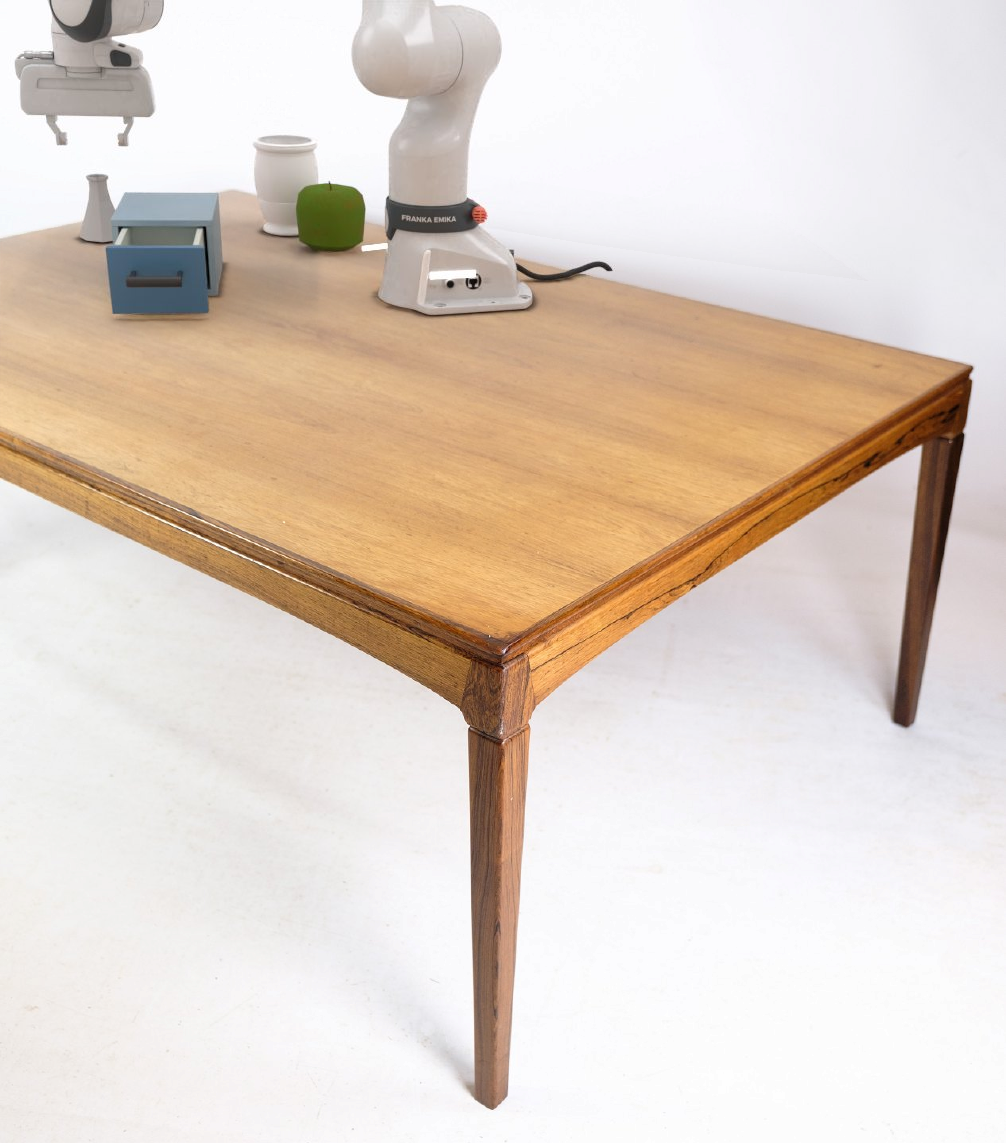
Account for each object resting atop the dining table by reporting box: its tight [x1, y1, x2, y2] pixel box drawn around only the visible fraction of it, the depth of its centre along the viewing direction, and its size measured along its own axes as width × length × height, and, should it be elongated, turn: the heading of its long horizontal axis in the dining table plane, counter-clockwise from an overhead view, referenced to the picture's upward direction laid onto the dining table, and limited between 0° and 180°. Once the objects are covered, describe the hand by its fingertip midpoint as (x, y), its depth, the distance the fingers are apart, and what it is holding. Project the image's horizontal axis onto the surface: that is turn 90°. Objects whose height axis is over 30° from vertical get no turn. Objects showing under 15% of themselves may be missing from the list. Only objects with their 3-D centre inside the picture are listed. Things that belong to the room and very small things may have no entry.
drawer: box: [105, 226, 210, 315], centre depth 177 cm, size 22×13×9 cm, turn 8°
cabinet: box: [111, 191, 224, 297], centre depth 190 cm, size 18×14×11 cm
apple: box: [296, 180, 367, 253], centre depth 209 cm, size 11×11×11 cm
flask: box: [78, 173, 116, 243], centre depth 210 cm, size 7×7×10 cm
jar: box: [252, 134, 319, 237], centre depth 217 cm, size 11×10×15 cm
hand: (93, 145), depth 205 cm, fingers open, 8 cm apart
